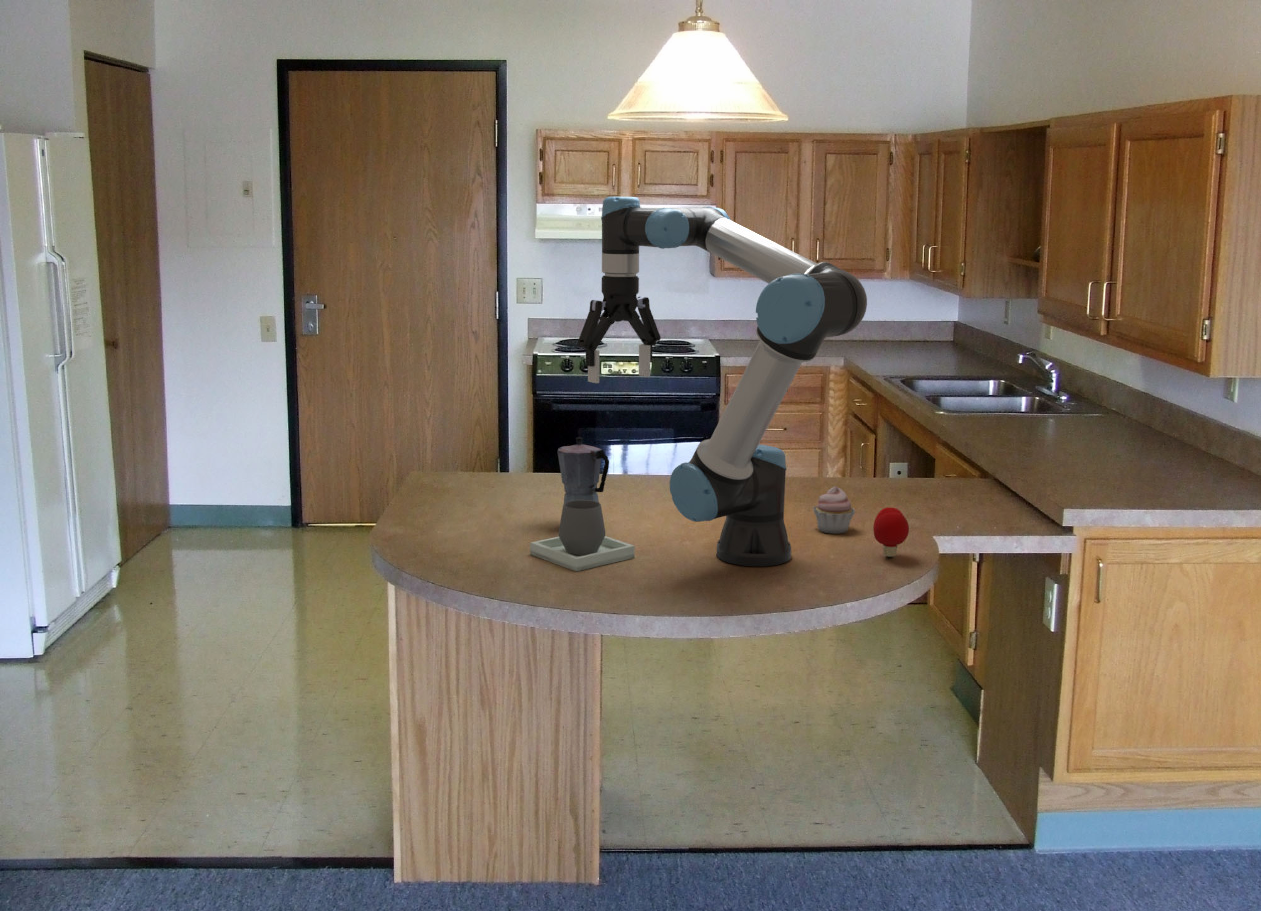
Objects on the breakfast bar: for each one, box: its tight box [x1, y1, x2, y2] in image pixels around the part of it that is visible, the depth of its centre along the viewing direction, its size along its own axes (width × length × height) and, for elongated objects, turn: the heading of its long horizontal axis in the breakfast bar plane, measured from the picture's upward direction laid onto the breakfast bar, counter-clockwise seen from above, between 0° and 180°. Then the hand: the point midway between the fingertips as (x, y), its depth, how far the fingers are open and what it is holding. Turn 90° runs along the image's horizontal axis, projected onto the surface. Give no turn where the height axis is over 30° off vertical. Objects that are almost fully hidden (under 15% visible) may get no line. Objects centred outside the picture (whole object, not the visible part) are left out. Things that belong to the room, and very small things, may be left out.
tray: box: [529, 535, 636, 572], centre depth 267 cm, size 15×15×2 cm
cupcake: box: [812, 486, 856, 535], centre depth 287 cm, size 9×9×10 cm
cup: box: [558, 500, 606, 556], centre depth 266 cm, size 10×9×10 cm
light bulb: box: [873, 507, 910, 559], centre depth 267 cm, size 9×7×10 cm
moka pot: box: [557, 436, 610, 504], centre depth 286 cm, size 10×15×20 cm, turn 51°
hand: (619, 379), depth 269 cm, fingers open, 13 cm apart
